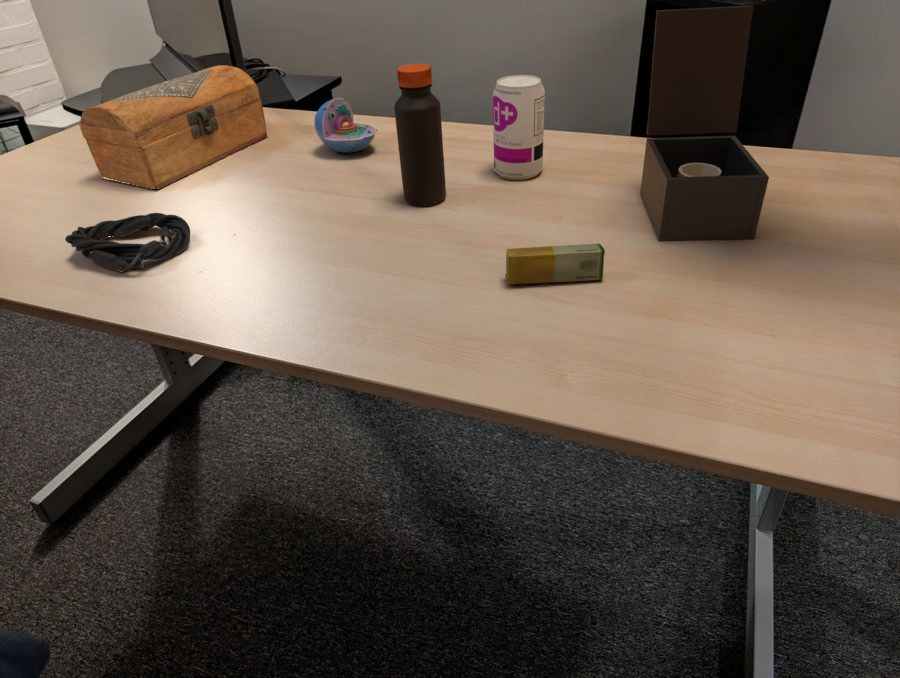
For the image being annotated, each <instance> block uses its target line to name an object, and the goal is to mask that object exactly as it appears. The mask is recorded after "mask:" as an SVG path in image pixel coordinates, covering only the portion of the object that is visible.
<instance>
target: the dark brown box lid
mask: <svg viewBox="0 0 900 678" xmlns="http://www.w3.org/2000/svg"><path fill="white" fill-rule="evenodd" d="M753 12H754V5H741V6H719V7H700V8H679V9H661V10H660V9H659V10H656V11H655V23H654V24H655V25H654V37H653V47H652V48H653V49H652V62H651V63H652V64H651V76H650V88H649V99H648V100H649V101H648V111H647V124H646V135H647V136H668V135H669V136H670V135H671V136H673V135H696V134H697V135H701V134H702V135H704V134H728V133H729V134H730V133H731V134H733V133H737V129H738V124H739V116H740V107H741V101H742V100H741V99H742V93H743V87H744V77H745V70H746V65H747V64H746V63H747V58H748V57H747V56H748V50H749V40H750V34H751V27H752V20H753V19H752V18H753Z"/></svg>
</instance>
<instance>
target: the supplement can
mask: <svg viewBox="0 0 900 678" xmlns="http://www.w3.org/2000/svg"><path fill="white" fill-rule="evenodd" d="M545 96H546V90H545V87H544V84H543V83H542V79H541V78H540V77H539V76H536V75H529V74H513V75H507V76H502V77H500V78H498V79H497V80H496V84H495V86H494V88H493V90H492V118H493V119H492V125H493V127H492V128H493V132H492V133H493V170H494V172H495V173H497V175H498V176H499V177H501V178H503V179H507V180H512V181H523V180H529V179H532V178H534V177H536V176H538V175H539V173H540V172H542V171H543V167H544V132H545V131H544V130H545V101H546V100H545V98H546V97H545Z"/></svg>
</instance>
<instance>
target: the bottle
mask: <svg viewBox="0 0 900 678" xmlns="http://www.w3.org/2000/svg"><path fill="white" fill-rule="evenodd" d="M396 74H397V76H396V77H397V85H398V89H399V90H400V92H401V95H400V96H399V98H397V100H396V101H395V103H394V106H393V108H394V119H395V126H396V127H395V128H396V136H397V145H398V156H399V164H400V173H401V180H402V181H401V183H402V184H401V185H402V193H403V199H404V201H405V203H407V204H408V205H410V206H413V207H432V206H436V205H438V204H440V203H442V202H443V201H444V200H445V199H446V196H447V185H446V172H445V171H446V170H445V158H444V155H445V154H444V141H443V140H444V139H443V128H442V111H441V102H440V100H439V99H438V98H437V97H436V96H435V95H434V93H432V92H431V91H432V90H431V88H432V86H433V74H432V66H431V65H429V64H427V63H408V64H404V65H400V66H399V67H397V68H396Z"/></svg>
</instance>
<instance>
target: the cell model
mask: <svg viewBox="0 0 900 678" xmlns="http://www.w3.org/2000/svg"><path fill="white" fill-rule="evenodd" d="M313 124H314V125H313V126H314V130H315V133H316V135H317V137H318V138H319V140H320V141H321V142H322V143H323V144H324V145H325V146H326V147H327V148H329V149H331V150H332V151H335V152H338V153H341V154H351V153H357V152H359V151H362V150H364V149H365V148H367V147H368V146H369V145H370V144H371V143H372V141H373V140H374V138H375V136H376V133H377V131H378V128H376V127H374V126H372V125H370V124H366V123H358V122H354V112H353V110H352V108H351V106H350V104H349V102H348V101H347V100H344V98H342V97H336V98H332V99H330V100H327V101H326V102H324V103H323V104H322V105H321V106H320V107H319V108H318V110H317V111H316V113H315V115H314V122H313Z"/></svg>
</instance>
